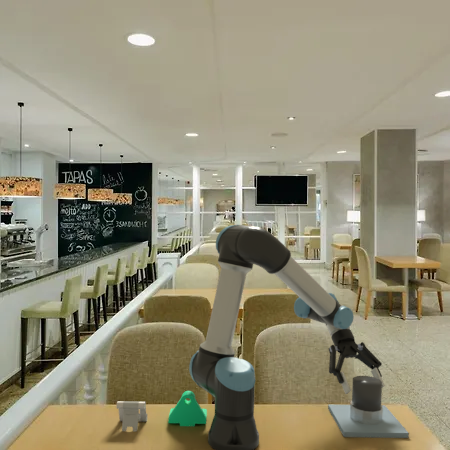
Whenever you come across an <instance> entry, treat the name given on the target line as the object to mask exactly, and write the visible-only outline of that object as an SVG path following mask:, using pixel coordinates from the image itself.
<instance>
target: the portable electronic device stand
mask: <svg viewBox="0 0 450 450" xmlns="http://www.w3.org/2000/svg"><path fill="white" fill-rule="evenodd" d="M146 405H147V404H146V401H120V400H119V401H117V402H116V409H117V410H118V416H119V421H120V422H122V427H121V431H122V432H127V431H128V430H127V428H130V427H131V428H132V432H137V431H138V428H139V427H138V425H139V422H148V413H147V406H146Z"/></svg>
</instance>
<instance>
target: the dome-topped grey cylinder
mask: <svg viewBox="0 0 450 450" xmlns="http://www.w3.org/2000/svg"><path fill="white" fill-rule="evenodd" d="M382 391H383V388H382V381H381V380H379V379H377V378H374V377H373V376H368V375H357V376H356V375H355V376H354V377H353V378H352V389H351V392H352V393H351V398H352V399H351V401H352V405H353V406H354V407H356V408H358V409H361V410H366V411H377V410H379V409H381V405H382V398H383V397H382V394H383V393H382Z"/></svg>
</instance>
